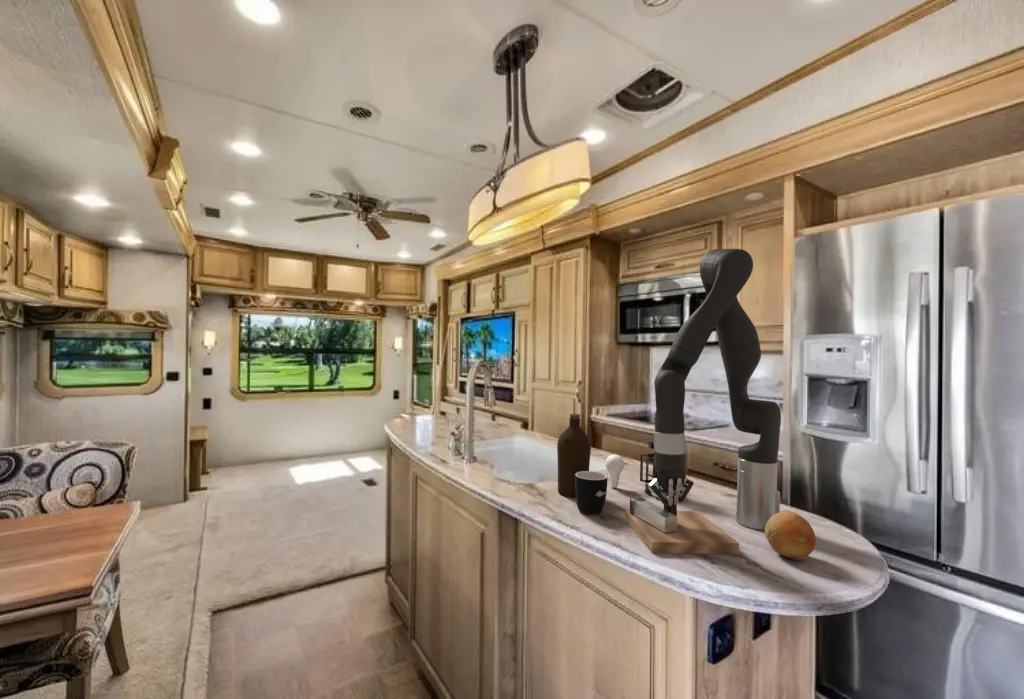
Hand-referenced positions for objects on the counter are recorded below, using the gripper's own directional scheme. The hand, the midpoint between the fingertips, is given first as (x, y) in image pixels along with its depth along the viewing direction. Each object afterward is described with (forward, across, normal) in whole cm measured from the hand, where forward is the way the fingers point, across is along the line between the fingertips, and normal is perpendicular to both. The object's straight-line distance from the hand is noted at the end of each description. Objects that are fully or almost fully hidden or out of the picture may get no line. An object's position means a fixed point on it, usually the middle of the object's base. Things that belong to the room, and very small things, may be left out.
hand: (670, 519), depth 110 cm
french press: (+4, +17, +28) cm, 33 cm away
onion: (+5, +18, -17) cm, 26 cm away
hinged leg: (+1, -4, +2) cm, 5 cm away
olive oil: (+3, -10, +35) cm, 36 cm away
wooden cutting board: (+4, +1, -1) cm, 4 cm away
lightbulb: (+3, +6, +37) cm, 37 cm away
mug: (+3, -11, +20) cm, 23 cm away
